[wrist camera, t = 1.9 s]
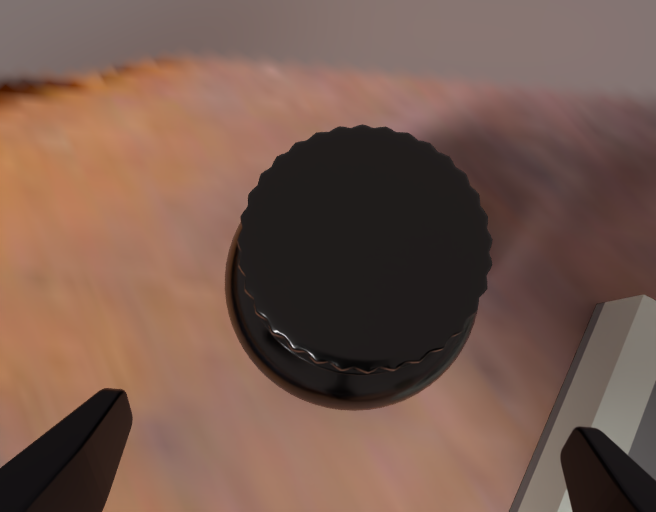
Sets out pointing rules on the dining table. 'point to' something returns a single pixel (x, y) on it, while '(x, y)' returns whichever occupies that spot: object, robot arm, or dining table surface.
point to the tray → (600, 399)
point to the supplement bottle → (358, 268)
